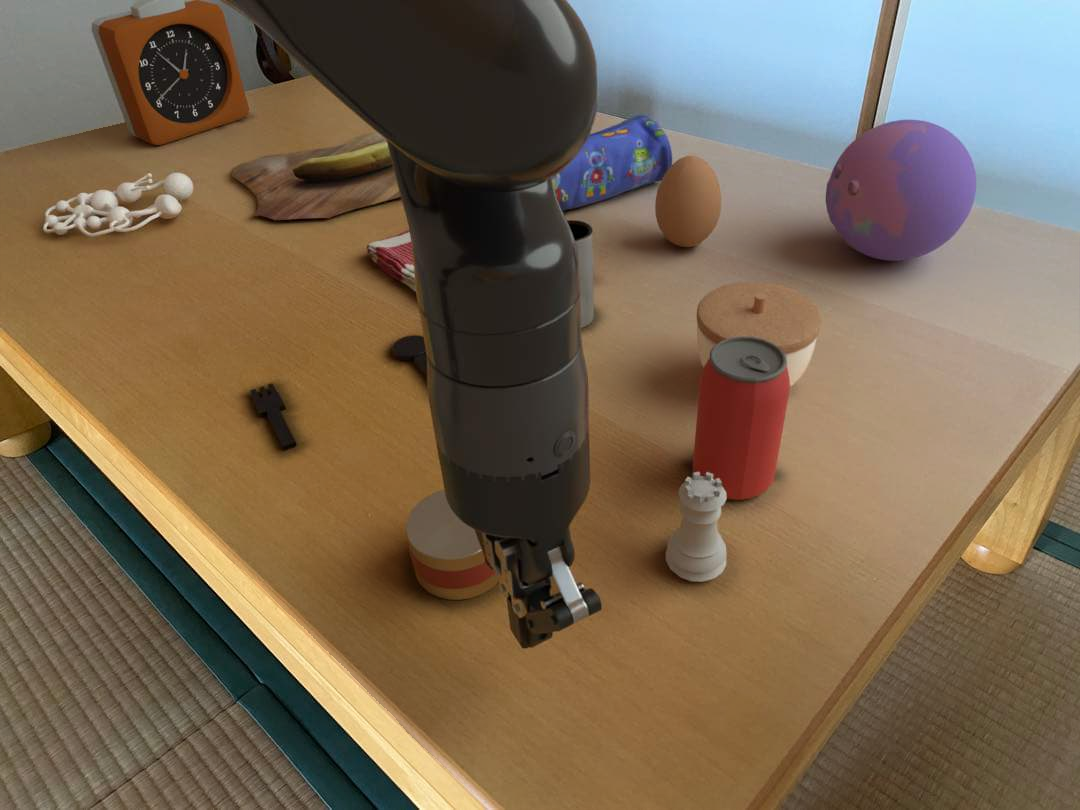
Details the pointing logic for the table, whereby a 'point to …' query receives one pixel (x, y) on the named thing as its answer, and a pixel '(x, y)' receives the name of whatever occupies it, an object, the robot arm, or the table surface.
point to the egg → (688, 202)
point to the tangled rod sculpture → (118, 216)
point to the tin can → (446, 551)
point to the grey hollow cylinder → (584, 268)
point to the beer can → (741, 415)
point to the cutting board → (321, 180)
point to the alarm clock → (171, 68)
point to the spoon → (412, 351)
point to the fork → (274, 414)
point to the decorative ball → (901, 190)
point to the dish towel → (395, 257)
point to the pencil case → (614, 163)
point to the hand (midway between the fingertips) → (532, 634)
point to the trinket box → (760, 321)
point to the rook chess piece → (698, 531)
